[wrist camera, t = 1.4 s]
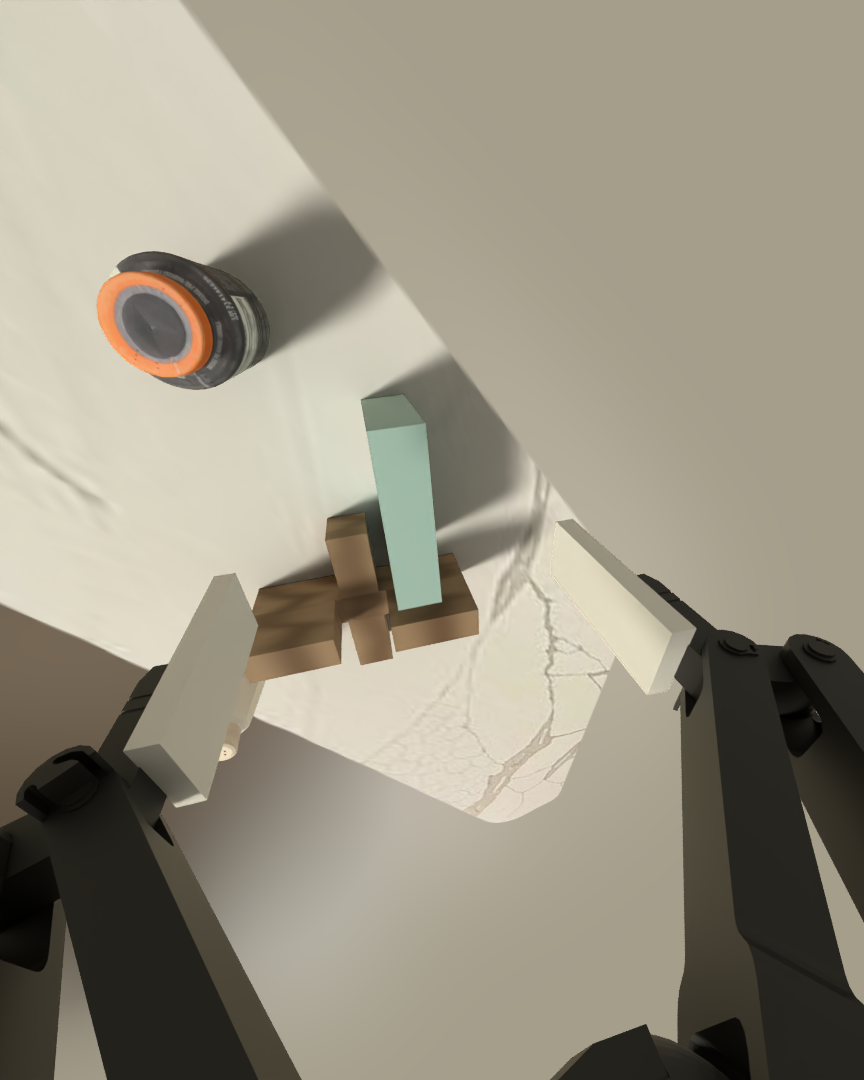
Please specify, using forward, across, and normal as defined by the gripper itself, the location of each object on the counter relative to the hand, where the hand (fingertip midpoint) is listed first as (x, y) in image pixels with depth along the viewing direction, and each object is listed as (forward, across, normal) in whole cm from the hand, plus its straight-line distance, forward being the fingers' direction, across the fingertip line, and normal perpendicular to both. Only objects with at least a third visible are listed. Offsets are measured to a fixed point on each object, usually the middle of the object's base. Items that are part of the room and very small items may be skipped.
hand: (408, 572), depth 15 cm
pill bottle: (+19, -9, +10) cm, 23 cm away
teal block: (+19, +1, -3) cm, 20 cm away
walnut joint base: (+19, -4, -14) cm, 24 cm away
